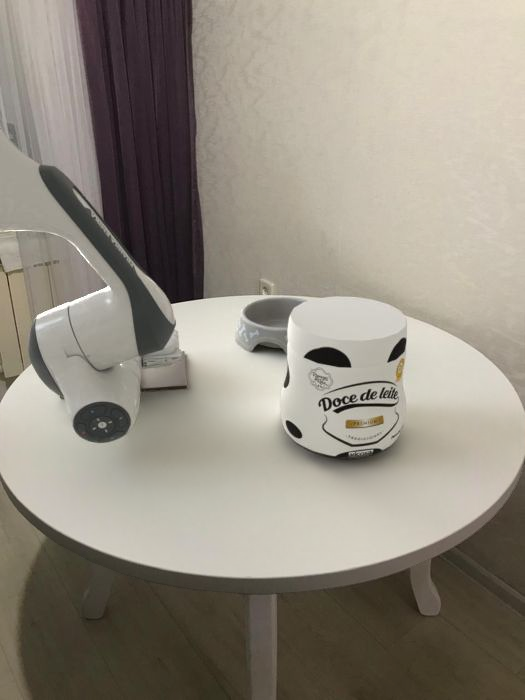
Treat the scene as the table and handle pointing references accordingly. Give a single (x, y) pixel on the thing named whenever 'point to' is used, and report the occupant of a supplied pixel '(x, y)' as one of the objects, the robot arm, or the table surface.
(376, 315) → the milk container
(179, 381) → the placemat
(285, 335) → the dog bowl
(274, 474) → the table surface
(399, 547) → the table surface
